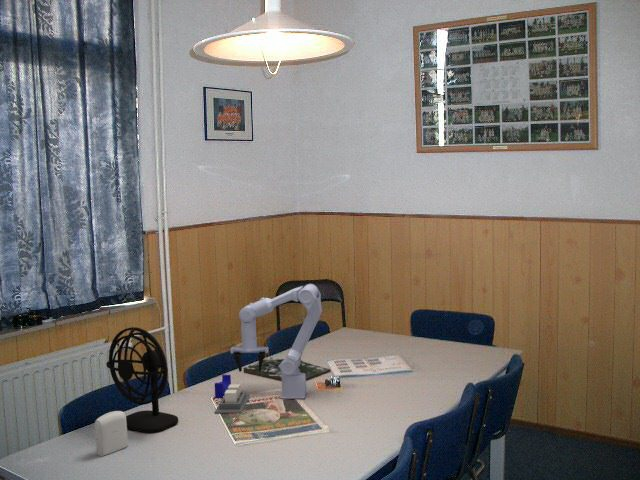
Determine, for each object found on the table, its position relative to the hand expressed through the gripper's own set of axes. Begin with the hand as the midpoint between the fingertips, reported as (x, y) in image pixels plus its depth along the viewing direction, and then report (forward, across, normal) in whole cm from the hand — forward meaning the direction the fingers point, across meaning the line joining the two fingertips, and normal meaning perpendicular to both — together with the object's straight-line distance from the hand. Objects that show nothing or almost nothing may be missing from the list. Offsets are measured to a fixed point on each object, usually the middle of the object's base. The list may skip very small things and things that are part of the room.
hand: (250, 370), depth 281 cm
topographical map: (+10, +11, +32) cm, 35 cm away
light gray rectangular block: (+9, -5, -15) cm, 18 cm away
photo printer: (+10, -36, -55) cm, 66 cm away
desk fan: (+10, -32, -32) cm, 46 cm away
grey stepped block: (+9, -5, -12) cm, 16 cm away
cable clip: (+10, -12, +1) cm, 16 cm away
